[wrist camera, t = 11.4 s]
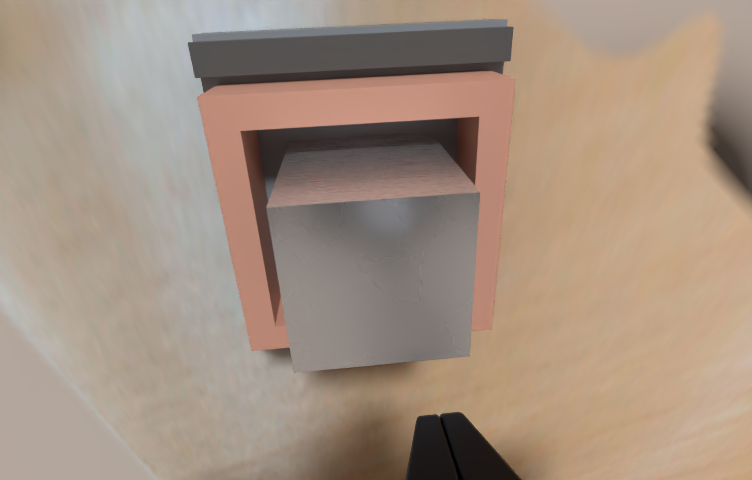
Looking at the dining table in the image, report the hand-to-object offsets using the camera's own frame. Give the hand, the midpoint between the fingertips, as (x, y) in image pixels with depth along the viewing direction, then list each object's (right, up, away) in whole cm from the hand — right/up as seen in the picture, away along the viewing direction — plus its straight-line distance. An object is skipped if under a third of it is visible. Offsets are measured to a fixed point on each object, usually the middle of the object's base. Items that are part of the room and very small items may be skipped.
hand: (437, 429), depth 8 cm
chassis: (-2, +6, +10) cm, 11 cm away
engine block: (-2, +5, +9) cm, 10 cm away
